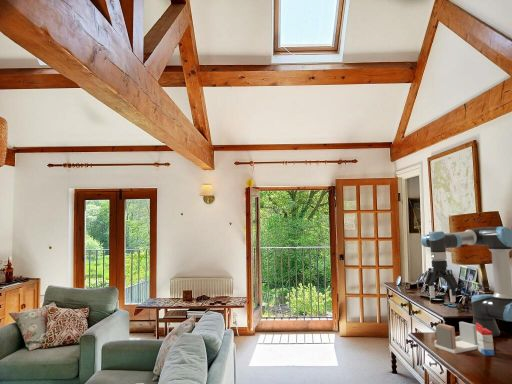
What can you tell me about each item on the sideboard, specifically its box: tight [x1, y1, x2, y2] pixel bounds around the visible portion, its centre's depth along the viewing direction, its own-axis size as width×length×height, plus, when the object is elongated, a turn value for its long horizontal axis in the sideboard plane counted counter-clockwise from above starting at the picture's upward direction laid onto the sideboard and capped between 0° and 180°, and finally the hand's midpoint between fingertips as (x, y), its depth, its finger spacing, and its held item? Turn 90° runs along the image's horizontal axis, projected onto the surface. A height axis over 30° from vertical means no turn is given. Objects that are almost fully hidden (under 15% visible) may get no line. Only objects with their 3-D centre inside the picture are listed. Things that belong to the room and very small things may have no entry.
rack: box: [434, 323, 478, 354], centre depth 203 cm, size 22×13×12 cm, turn 111°
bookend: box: [458, 321, 478, 345], centre depth 206 cm, size 2×9×10 cm, turn 21°
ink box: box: [476, 322, 495, 356], centre depth 193 cm, size 8×5×15 cm, turn 168°
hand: (442, 299), depth 199 cm, fingers open, 13 cm apart
